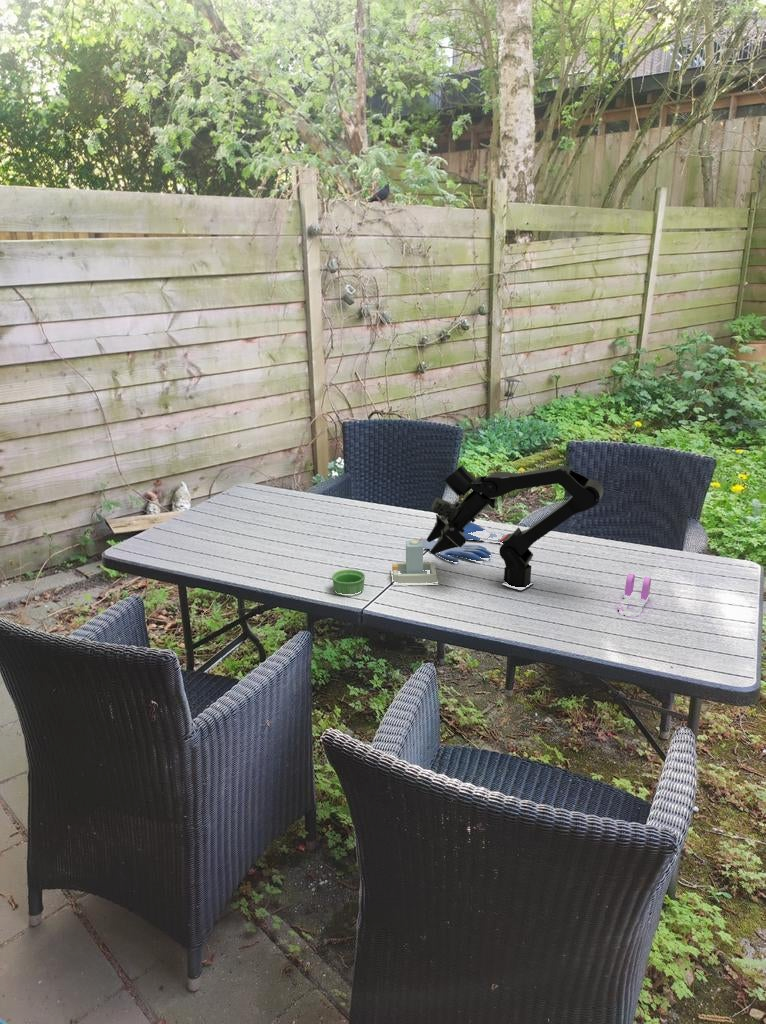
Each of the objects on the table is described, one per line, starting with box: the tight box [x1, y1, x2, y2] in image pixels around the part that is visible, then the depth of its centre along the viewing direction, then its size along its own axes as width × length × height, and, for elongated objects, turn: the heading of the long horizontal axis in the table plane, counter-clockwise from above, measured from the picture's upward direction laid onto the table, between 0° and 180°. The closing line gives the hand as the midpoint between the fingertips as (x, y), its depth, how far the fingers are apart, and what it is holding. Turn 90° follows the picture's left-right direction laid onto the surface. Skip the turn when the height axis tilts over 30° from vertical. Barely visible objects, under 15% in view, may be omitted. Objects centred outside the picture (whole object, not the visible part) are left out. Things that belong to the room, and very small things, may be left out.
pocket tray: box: [391, 561, 438, 583], centre depth 200 cm, size 13×10×4 cm
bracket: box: [618, 573, 652, 611], centre depth 183 cm, size 13×6×7 cm, turn 149°
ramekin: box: [331, 569, 366, 594], centre depth 193 cm, size 9×9×4 cm
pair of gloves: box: [418, 522, 509, 562], centre depth 225 cm, size 32×26×4 cm
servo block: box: [400, 539, 427, 574], centre depth 199 cm, size 8×4×11 cm, turn 92°
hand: (429, 547), depth 197 cm, fingers open, 9 cm apart
